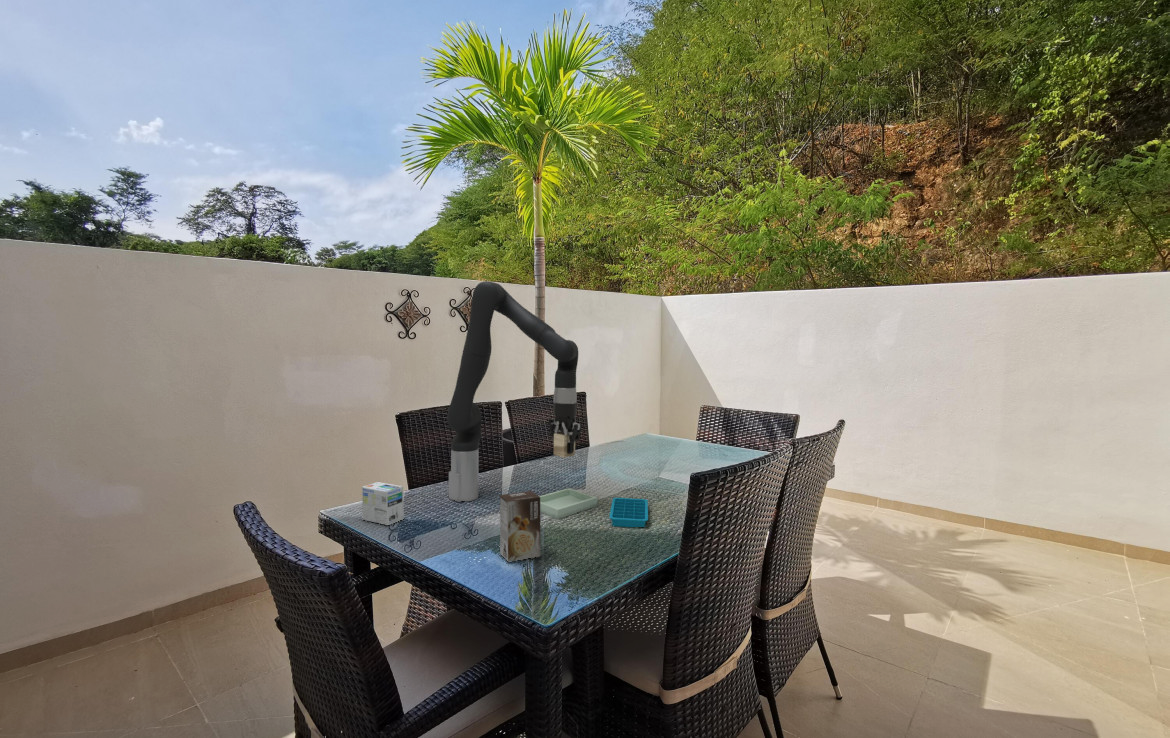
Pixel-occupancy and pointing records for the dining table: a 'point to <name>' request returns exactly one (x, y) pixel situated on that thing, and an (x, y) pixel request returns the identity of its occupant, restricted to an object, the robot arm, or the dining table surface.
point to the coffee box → (520, 526)
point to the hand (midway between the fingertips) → (564, 451)
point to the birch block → (561, 445)
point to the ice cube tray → (629, 512)
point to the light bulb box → (383, 503)
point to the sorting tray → (566, 503)
